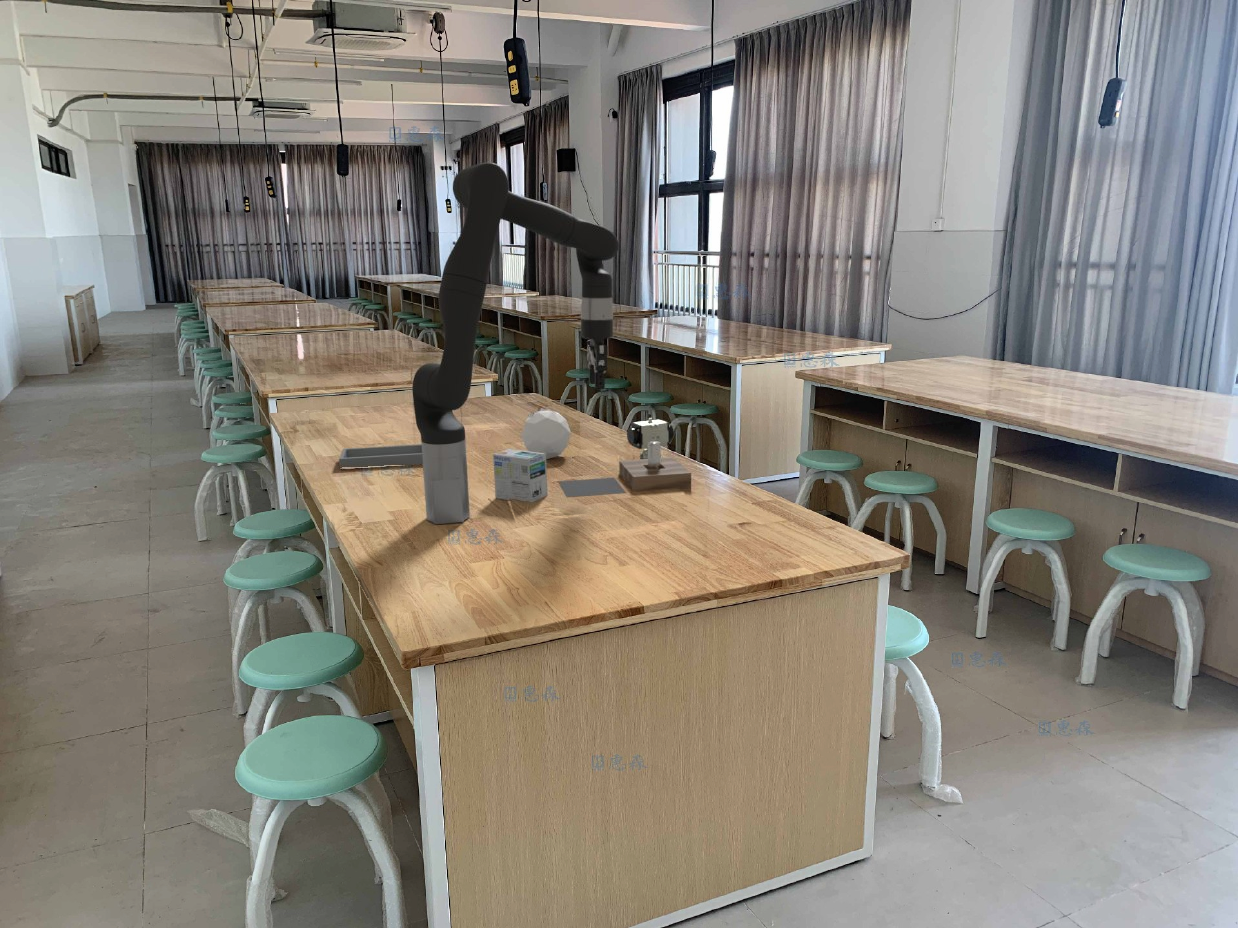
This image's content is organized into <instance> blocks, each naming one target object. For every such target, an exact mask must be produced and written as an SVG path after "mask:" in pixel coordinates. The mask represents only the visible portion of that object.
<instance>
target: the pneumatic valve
mask: <svg viewBox="0 0 1238 928" xmlns="http://www.w3.org/2000/svg"><path fill="white" fill-rule="evenodd" d="M630 423H631V424H630V427H629V428H628V429H627V431H626V437H627V439H626V440H627V441H628V444H629V445H631V446H632V447H634V448H636V449H638V450H641V453H640V454H639V459H648V442H652V441H657V442H660V447H666V446H668V447H669V446H670V443H671V440H673V439H674V434H675V433H674V428H673V425H672V424H671V423H670V422H669V421H667V420H664V419H653V418H652V417H649V418H648V420H646V421H645V420H643V421H636V422H630ZM660 458H662V454H661V452H660Z"/></svg>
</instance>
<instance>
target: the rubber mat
mask: <svg viewBox="0 0 1238 928" xmlns="http://www.w3.org/2000/svg"><path fill="white" fill-rule="evenodd" d="M557 482H558V484H559V487H560V488H561V489H562V491H563V493H564V494H565V495H564V496H565V497H566V498H575V497H590V496H602V495H616V494H617V495H619V494H626V493H627V491H626V490H625V489H624V488H623V486H621V485H620V483H619V482H618V480H617V479H616V478H615V477H602V478H587V479H573V480H559V481H557Z"/></svg>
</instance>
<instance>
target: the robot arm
mask: <svg viewBox="0 0 1238 928" xmlns="http://www.w3.org/2000/svg"><path fill="white" fill-rule="evenodd" d="M509 185H510V184H509V180H508V176H507V174H506V172H505V170H504V169H503V168H502V167H501V166H500V165H498V164H497V163H494V162H483V163H477V164H474V165H471V166H468V167H465V168H464V169H462V170H460V171H459V172H458V173H457V174H456V175H455V177H454V179H453V183H452V192H453V195H454V197H455V199H456V201H457V203H458V204H459V205H460V206H461V207H463V208H464V209H465V210H466V214H465V218H464V224H463V226H462V230H461V232H460V234H459V236H458V238H457V240H456V242H455V243H454V246H453V247H452V250H451V251H450V254H449V255H448V257H447V259H446V262H445V264H444V267H443V270H442V275H441V280H440V286H439V290H438V307H439V313H440V317H441V321H442V325H443V326H442V327H443V330H444V331H443V332H444V345H443V350H442V356H441V361H440V363H436V362H435V363H434V362H430V363H426V364H423V365H421V366H420V367H418V368H417V370H416V372H415V373H414V376H413V380H412V388H411V389H412V402H413V410H414V417H415V424H416V428H417V429H418V431H419V433H420V441H421V443H420V444H422V459H423V465H422V473H423V484H424V485H423V486H424V501H425V510H426V511H425V512H426V515H425V516H426V520H427V521H428V522H430V523H433V524H434V525H440V524H441V525H442V524H443V525H444V524H454V523H455V524H456V523H464V521H465V520H467V519H469V518H470V517H471V512H470V495H469V479H468V478H469V477H468V460H467V443H466V441H467V440H466V439H467V438H466V428H465V425H464V424H463V423H461V422H460V421H459V420H458V419H457V417H456V415H454V413H453V411H456V410H459V409H460V408H461V407H462V406H464V405H465V403H466V401H467V400H468V398H469V395H470V392H471V387H472V381H473V379H472V378H473V367H474V356H475V349H476V348H475V347H476V342H477V341H476V340H477V336H478V331H479V326H480V325H479V323H480V318H481V312H482V309H483V308H482V307H483V304H484V299H485V296H486V289H487V285H488V278H489V272H490V267H491V263H492V259H493V258H492V257H493V254H494V253H493V252H494V247H495V241H496V238H497V237H496V236H497V233H498V230H499V226H500V223H501V220H503V221H506V222H509V223H512V224H514V225H516V226H518V227H521V228H524V229H525V230H528V231H531V232H533V233H534V234H537V235H539V236H541V237H543V238H545V239H547V240H549V241H551V242H554V243H556V244H558V245H560V246H562V247H566V248H573V249H575V253H576V259H577V264H578V268H579V273H580V275H581V304H580V337H582V339H588V340H587V341H586V344H587V348H586V349H587V350H586V351H587V354H586V355H587V356H586V359H587V360H586V364H587V367H588V373H589V374H588V382H589V384H590V385H594V387H595V389H596V390H604V389H605V387H606V386H605V385H606V384H605V383H606V380H605V378H606V377H605V376H606V372H607V371H608V345H607V344H605V341H604V340H605V339H611V338H613V337H614V304H613V278H612V275H611V274H610V273H609V272H608V271H606V270H605V268H604V261H608V260H610V259H612V258H614V257H615V256H616V255H617V254H618V251H619V240H618V238H617V236H616V235H615V233H613V231H611V230H610V229H608V228H606V227H604V226H601V225H599V224H596V223H593V222H591V221H587V220H584V219H581V218H578V217H577V216H574V215H573V214H571V213H569V212H567V211H565V210H563V209H562V208H559V207H557V206H555V205H552V204H549V203H547V202H543V201H539V200H535V199H532V198H528V197H525V196H522V195H520V194H516V193H514V192H512V191H510V190H509V189H510V188H509V187H510V186H509Z"/></svg>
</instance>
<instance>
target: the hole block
mask: <svg viewBox="0 0 1238 928" xmlns="http://www.w3.org/2000/svg"><path fill="white" fill-rule="evenodd" d="M618 467H619V469H618V470H619V473H618V474H619V475H620V477H621V478H622V479H623V481H624V482H625V483H626V484H627V485H628V487H629V488H630V489H631V490H632V491H633V492H642V491H653V490H656V491H657V490H665V489H666V490H667V489H668V490H669V489H680V491H683V490H684V491H685V490H686V491H687V490H692V472H691V471H690V470H689V469H688V468H687V467H685V466H684V465H683V464H681V463H680V462H679V461H678V460H677V459H676V458H674V457H673V456H672V457H661V458H660V469H649V470H648V459H640V458H639V459H626V460H619V461H618Z"/></svg>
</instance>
